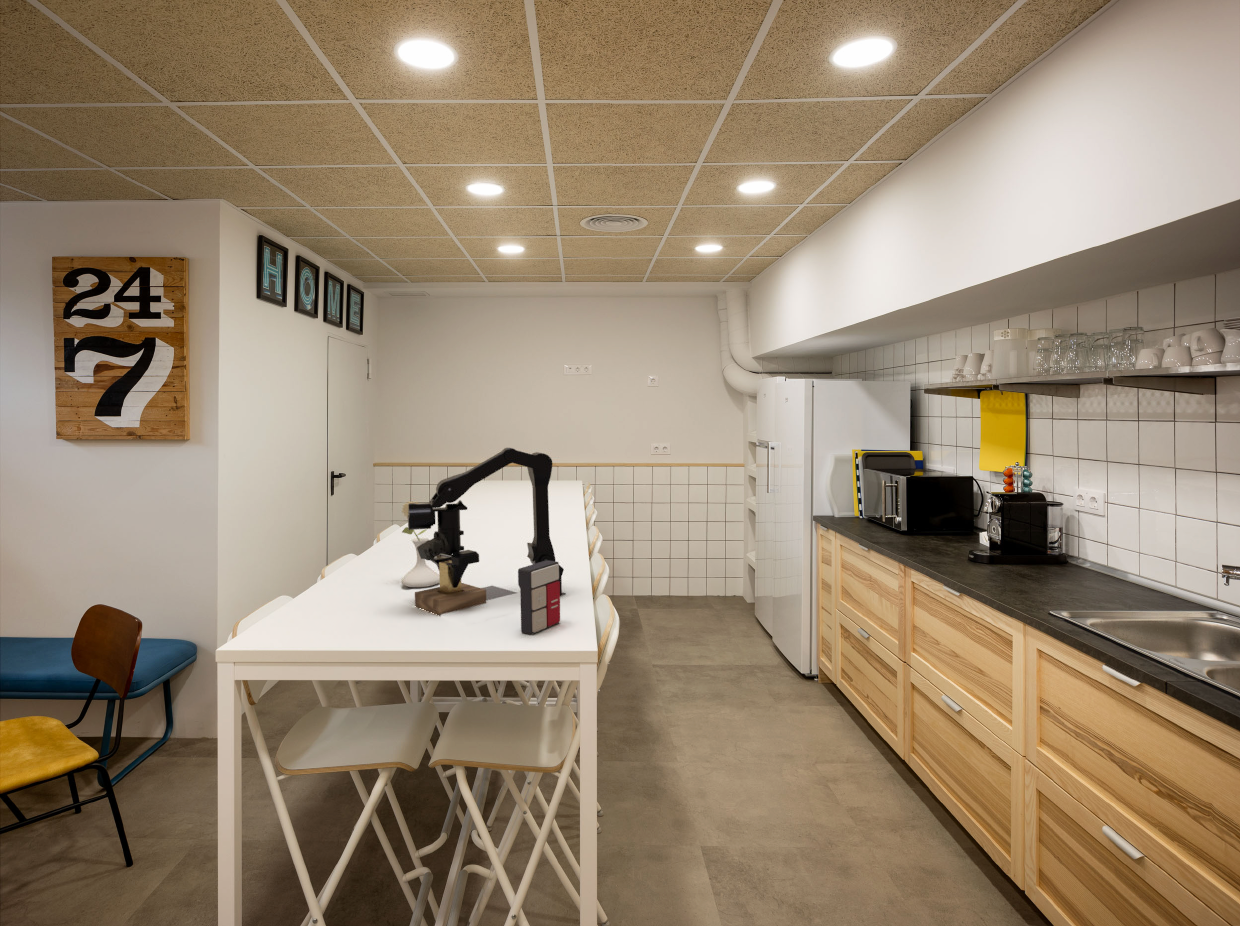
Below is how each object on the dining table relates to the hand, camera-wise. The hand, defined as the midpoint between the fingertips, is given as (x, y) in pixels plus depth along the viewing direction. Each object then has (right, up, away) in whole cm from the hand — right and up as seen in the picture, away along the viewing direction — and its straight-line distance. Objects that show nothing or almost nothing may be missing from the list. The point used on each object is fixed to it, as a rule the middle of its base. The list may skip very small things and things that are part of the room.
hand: (450, 586), depth 181 cm
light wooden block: (0, -4, 0) cm, 4 cm away
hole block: (0, -5, 0) cm, 5 cm away
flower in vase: (-15, -4, +23) cm, 27 cm away
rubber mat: (+7, -4, +11) cm, 14 cm away
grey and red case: (+26, -7, -19) cm, 33 cm away
